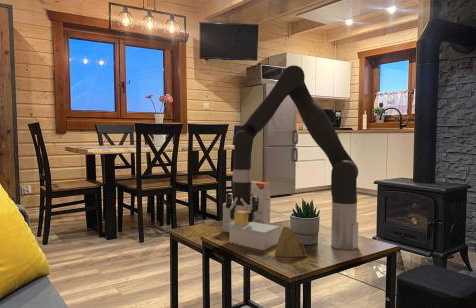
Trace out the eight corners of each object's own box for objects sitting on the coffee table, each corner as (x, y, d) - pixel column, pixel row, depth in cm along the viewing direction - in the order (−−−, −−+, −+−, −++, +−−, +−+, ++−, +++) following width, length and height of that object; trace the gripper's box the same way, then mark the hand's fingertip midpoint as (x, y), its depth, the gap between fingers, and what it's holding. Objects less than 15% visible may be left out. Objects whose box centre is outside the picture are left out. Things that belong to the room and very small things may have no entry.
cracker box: (238, 224, 179) (239, 181, 178) (246, 222, 184) (246, 179, 183) (263, 229, 171) (263, 183, 170) (270, 226, 176) (270, 182, 175)
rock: (313, 247, 135) (289, 239, 141) (309, 232, 130) (284, 224, 136) (299, 271, 129) (274, 261, 135) (294, 256, 124) (269, 247, 130)
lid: (279, 231, 148) (280, 213, 147) (264, 237, 138) (264, 219, 138) (239, 224, 159) (239, 208, 159) (222, 229, 150) (222, 212, 149)
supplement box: (244, 230, 169) (245, 202, 168) (236, 233, 162) (236, 204, 162) (230, 228, 172) (231, 200, 172) (222, 231, 166) (222, 203, 165)
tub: (278, 243, 148) (278, 228, 148) (264, 250, 139) (264, 234, 139) (245, 237, 157) (245, 222, 157) (229, 243, 148) (229, 228, 148)
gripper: (262, 181, 149) (261, 221, 150) (233, 178, 158) (232, 216, 158) (251, 182, 143) (251, 224, 144) (222, 179, 151) (221, 219, 152)
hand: (241, 220), depth 151 cm, fingers open, 8 cm apart
